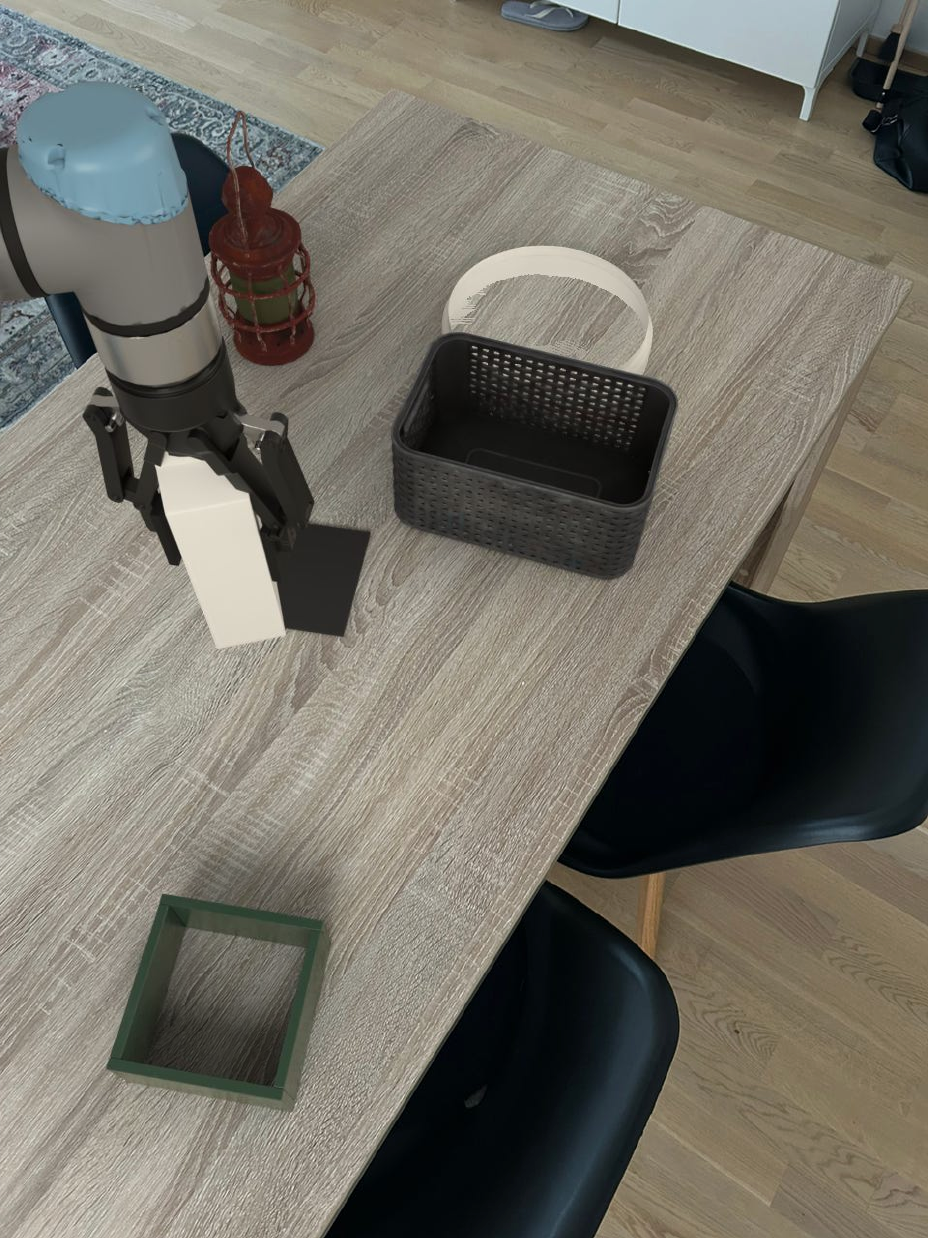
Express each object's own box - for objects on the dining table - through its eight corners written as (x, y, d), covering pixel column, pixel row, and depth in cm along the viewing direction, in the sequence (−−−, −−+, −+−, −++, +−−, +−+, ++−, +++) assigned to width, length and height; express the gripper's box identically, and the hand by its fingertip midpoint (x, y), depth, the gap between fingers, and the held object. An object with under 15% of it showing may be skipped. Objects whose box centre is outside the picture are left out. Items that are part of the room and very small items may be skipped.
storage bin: (663, 462, 125) (685, 382, 114) (627, 589, 116) (647, 515, 104) (438, 407, 130) (437, 324, 118) (385, 525, 120) (379, 447, 109)
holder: (128, 1082, 88) (105, 1069, 82) (179, 916, 96) (162, 893, 90) (292, 1112, 87) (281, 1101, 81) (331, 942, 95) (323, 920, 89)
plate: (423, 404, 130) (422, 372, 125) (461, 263, 144) (462, 229, 139) (638, 435, 128) (646, 403, 123) (656, 288, 142) (663, 255, 137)
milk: (286, 636, 90) (244, 471, 71) (216, 650, 89) (154, 487, 70) (276, 579, 93) (232, 406, 74) (207, 592, 92) (146, 421, 73)
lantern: (238, 302, 139) (190, 86, 114) (328, 308, 139) (300, 93, 113) (218, 367, 133) (163, 153, 107) (312, 374, 132) (279, 162, 107)
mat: (217, 618, 113) (216, 616, 113) (252, 517, 120) (251, 514, 120) (343, 637, 112) (343, 635, 112) (370, 533, 119) (370, 531, 119)
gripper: (340, 328, 65) (366, 542, 85) (29, 285, 67) (124, 504, 87) (309, 415, 61) (344, 619, 81) (-20, 367, 63) (90, 578, 83)
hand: (230, 559), depth 84 cm, fingers closed on milk, 8 cm apart
